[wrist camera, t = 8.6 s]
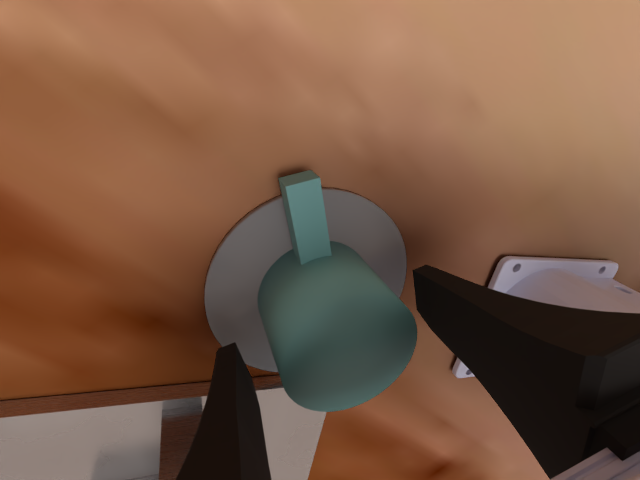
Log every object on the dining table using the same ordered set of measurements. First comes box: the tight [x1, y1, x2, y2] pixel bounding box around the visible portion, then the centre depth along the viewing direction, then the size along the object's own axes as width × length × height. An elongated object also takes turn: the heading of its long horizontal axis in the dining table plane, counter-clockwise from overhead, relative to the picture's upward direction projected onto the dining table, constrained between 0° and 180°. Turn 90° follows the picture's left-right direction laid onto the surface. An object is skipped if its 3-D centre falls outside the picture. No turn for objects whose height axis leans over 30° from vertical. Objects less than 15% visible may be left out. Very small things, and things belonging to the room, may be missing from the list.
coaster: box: [204, 187, 407, 372], centre depth 16 cm, size 9×9×1 cm
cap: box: [258, 170, 417, 412], centre depth 13 cm, size 5×8×4 cm, turn 9°
